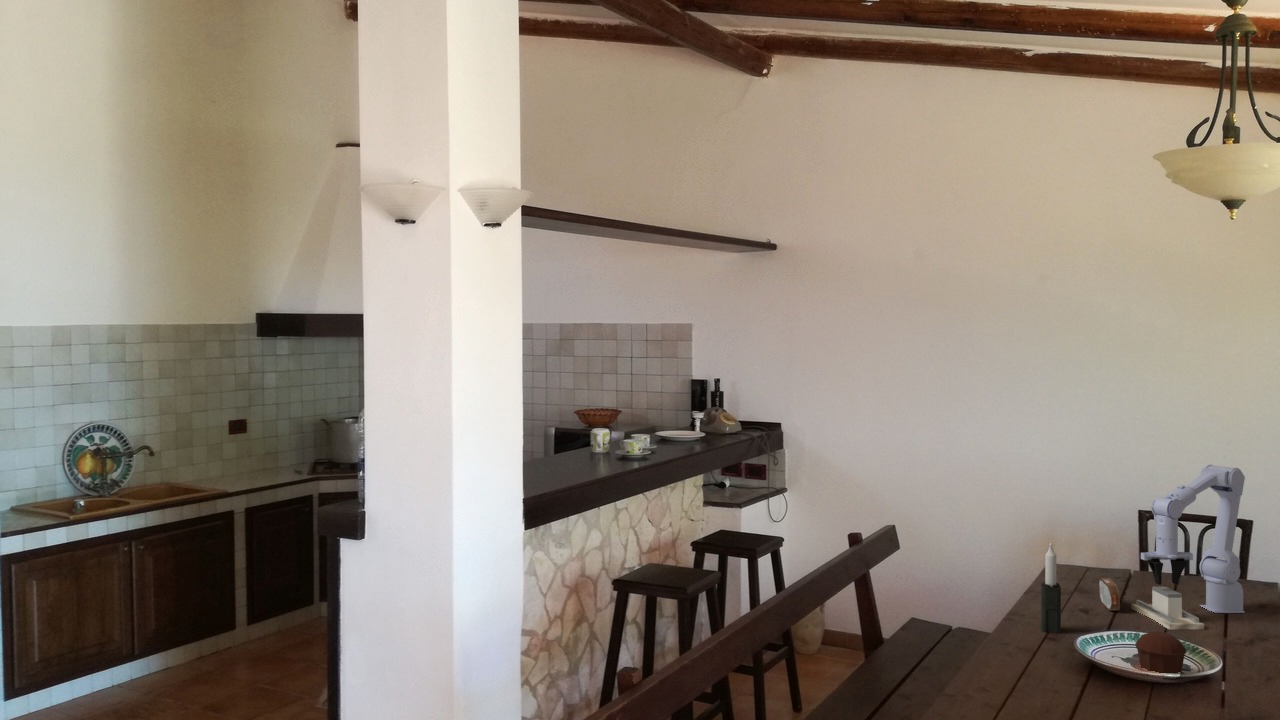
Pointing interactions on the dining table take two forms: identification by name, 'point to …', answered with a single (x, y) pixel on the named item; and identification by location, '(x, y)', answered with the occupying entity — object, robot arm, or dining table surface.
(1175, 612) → the block
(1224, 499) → the robot arm
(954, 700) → the dining table surface
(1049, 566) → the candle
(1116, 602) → the tin
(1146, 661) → the muffin
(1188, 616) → the rail board
